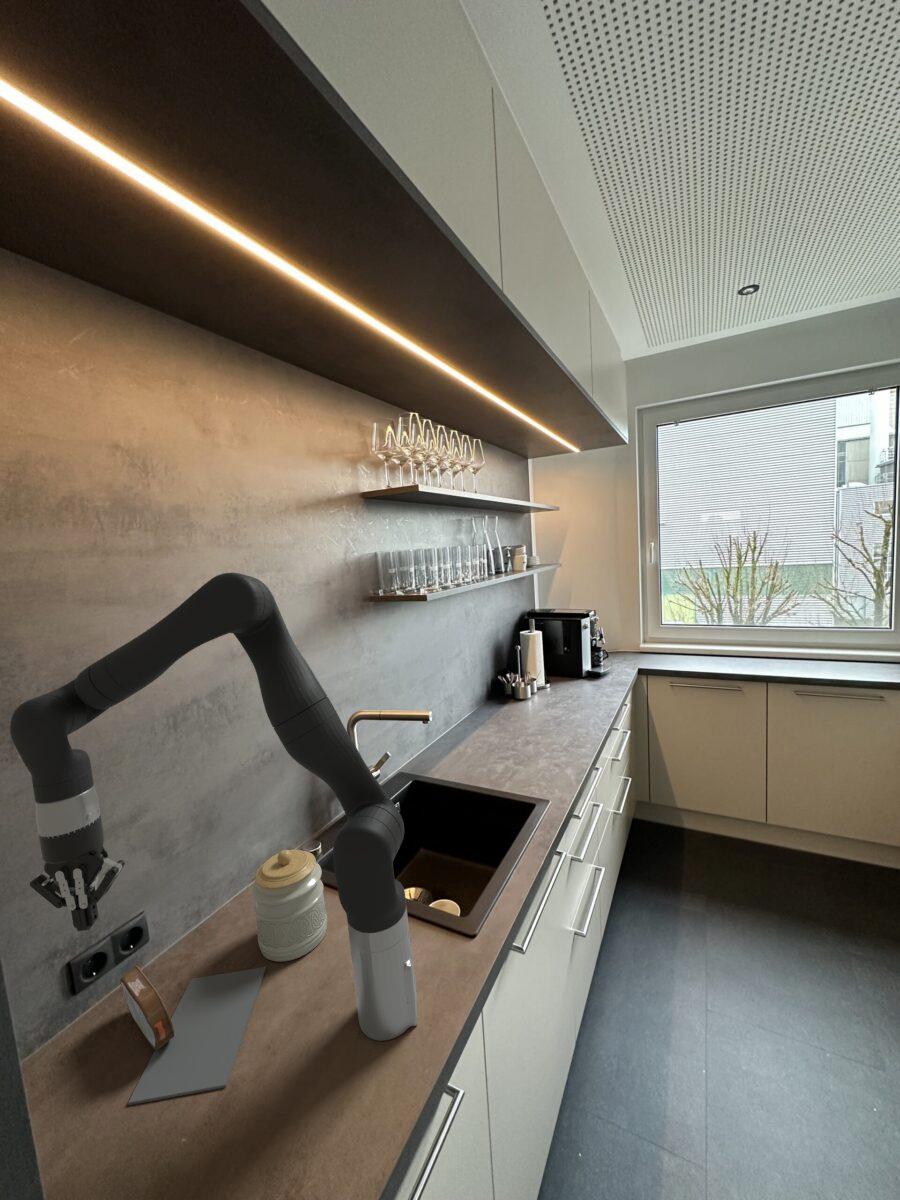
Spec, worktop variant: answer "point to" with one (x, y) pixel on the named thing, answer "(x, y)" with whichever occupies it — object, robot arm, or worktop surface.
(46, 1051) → the worktop surface
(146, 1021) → the tin
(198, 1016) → the mat
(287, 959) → the jar
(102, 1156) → the worktop surface
